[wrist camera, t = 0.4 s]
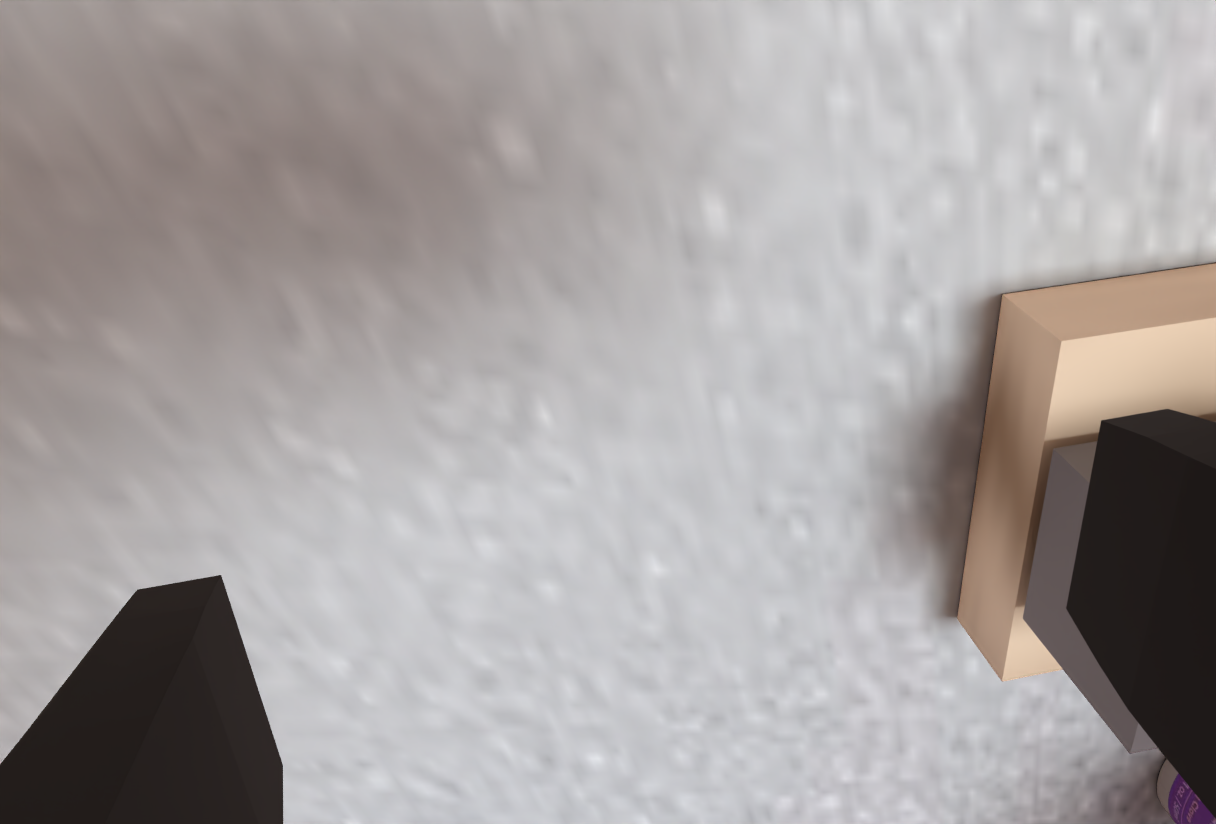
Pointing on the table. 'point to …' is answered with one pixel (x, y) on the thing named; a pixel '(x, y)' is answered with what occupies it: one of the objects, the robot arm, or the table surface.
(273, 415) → the table surface
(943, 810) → the table surface
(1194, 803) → the container
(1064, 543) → the fader knob
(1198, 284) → the fader console
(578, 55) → the table surface
